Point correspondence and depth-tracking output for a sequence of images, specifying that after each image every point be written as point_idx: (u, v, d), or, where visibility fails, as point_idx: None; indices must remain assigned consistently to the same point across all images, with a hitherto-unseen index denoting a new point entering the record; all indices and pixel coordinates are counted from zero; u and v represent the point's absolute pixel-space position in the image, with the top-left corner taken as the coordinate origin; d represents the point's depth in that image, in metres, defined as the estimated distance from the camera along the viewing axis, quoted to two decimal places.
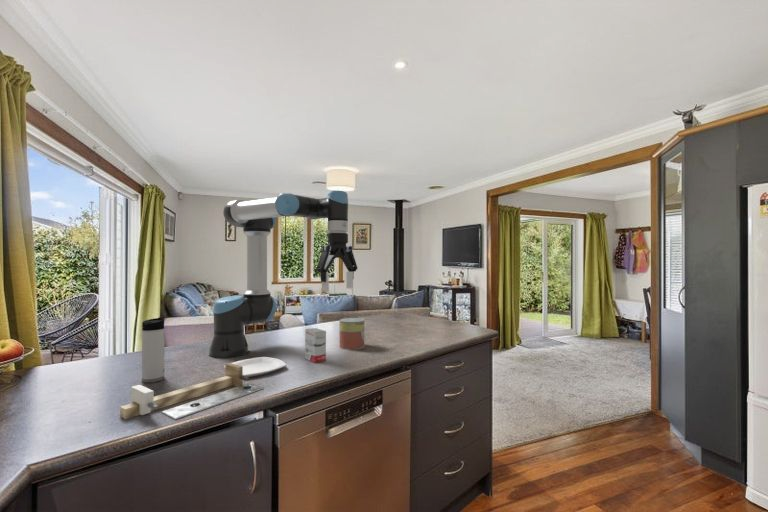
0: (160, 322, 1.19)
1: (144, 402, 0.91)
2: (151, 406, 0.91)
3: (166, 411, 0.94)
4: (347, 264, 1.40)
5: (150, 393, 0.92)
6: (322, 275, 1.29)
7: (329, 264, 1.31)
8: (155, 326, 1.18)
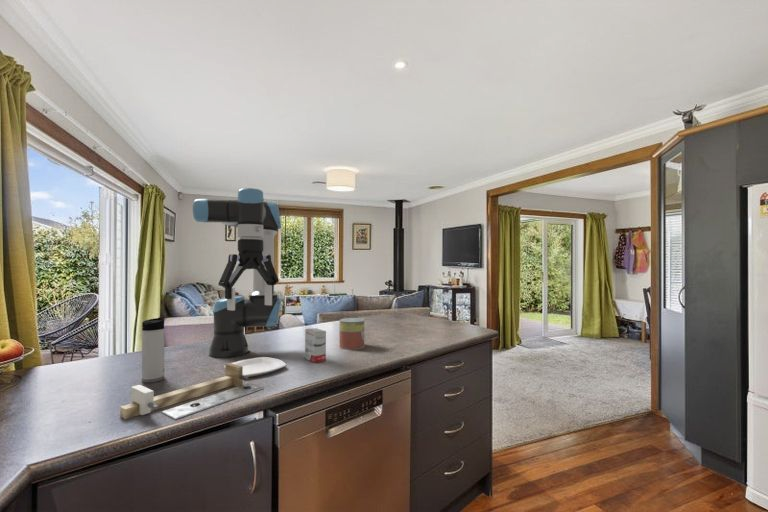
0: (160, 322, 1.19)
1: (144, 402, 0.91)
2: (151, 406, 0.91)
3: (166, 411, 0.94)
4: (264, 276, 1.17)
5: (150, 393, 0.92)
6: (226, 291, 1.06)
7: (236, 277, 1.08)
8: (155, 326, 1.18)
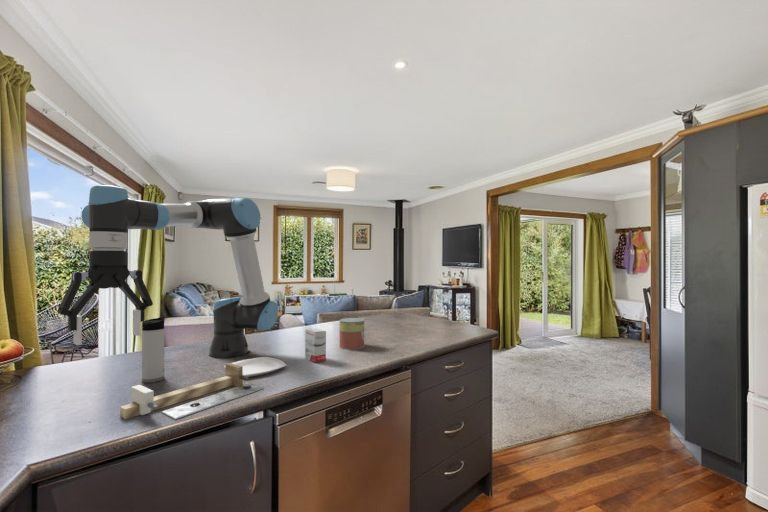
0: (160, 322, 1.19)
1: (144, 402, 0.91)
2: (151, 406, 0.91)
3: (166, 411, 0.94)
4: (130, 298, 0.93)
5: (150, 393, 0.92)
6: (69, 320, 0.83)
7: (83, 302, 0.84)
8: (155, 326, 1.18)
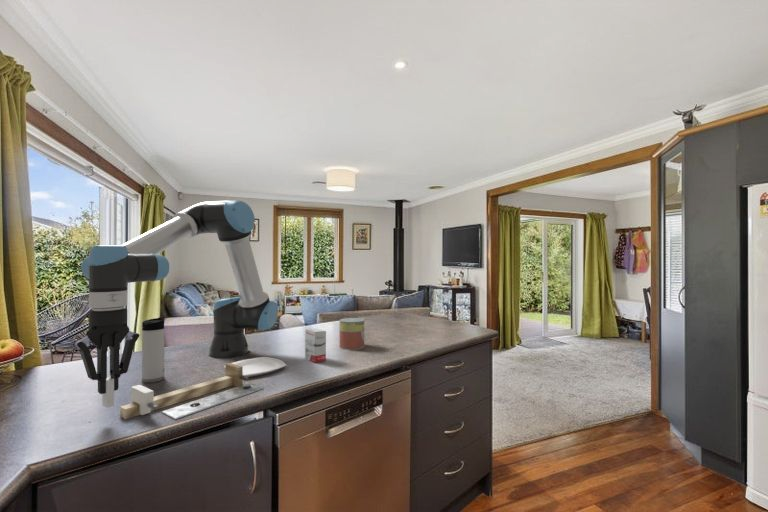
0: (160, 322, 1.19)
1: (144, 402, 0.91)
2: (151, 406, 0.91)
3: (166, 411, 0.94)
4: (112, 361, 0.90)
5: (150, 393, 0.92)
6: (99, 384, 0.87)
7: (103, 365, 0.87)
8: (155, 326, 1.18)
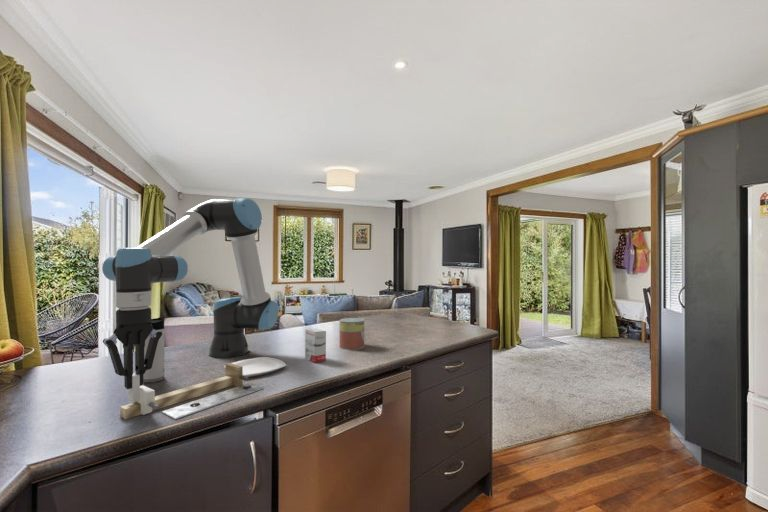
0: (160, 322, 1.19)
1: (145, 402, 0.92)
2: (152, 406, 0.91)
3: (166, 411, 0.94)
4: (137, 358, 0.94)
5: (151, 393, 0.93)
6: (125, 379, 0.92)
7: (130, 362, 0.92)
8: (155, 326, 1.18)
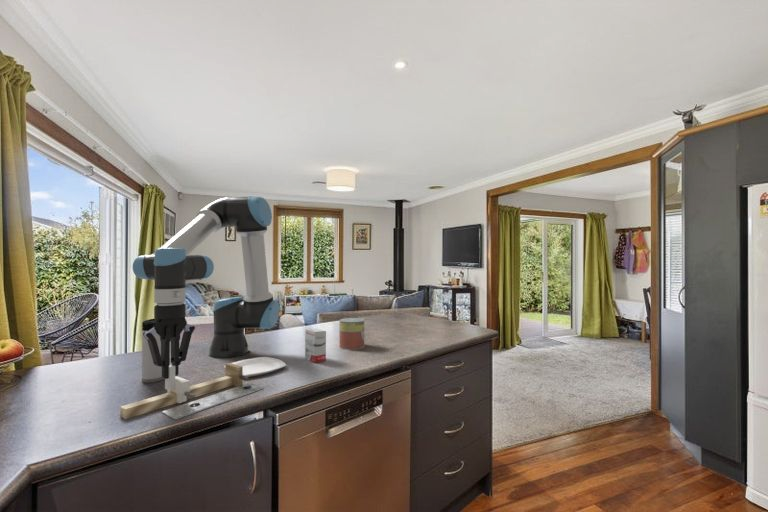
0: None
1: (181, 391, 0.99)
2: (188, 395, 0.98)
3: (166, 411, 0.94)
4: (173, 350, 1.01)
5: (186, 383, 1.00)
6: (163, 370, 0.99)
7: (167, 353, 0.99)
8: None
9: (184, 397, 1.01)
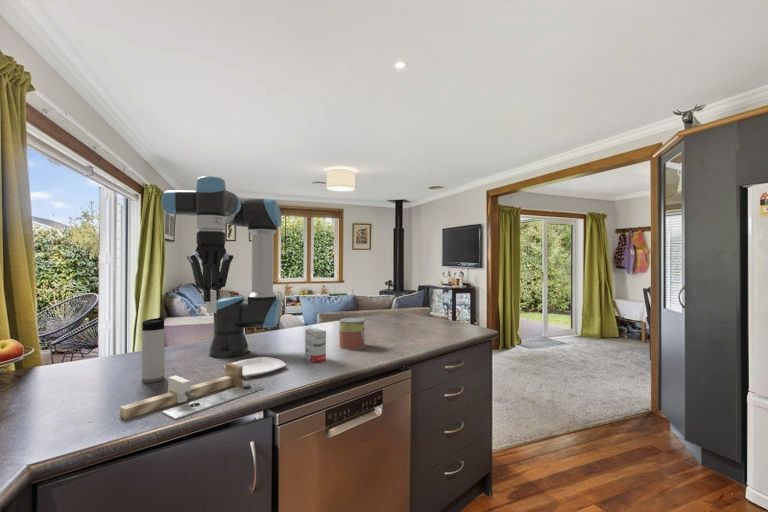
0: (160, 322, 1.19)
1: (182, 391, 0.99)
2: (188, 394, 0.98)
3: (166, 411, 0.94)
4: (214, 276, 1.06)
5: (187, 383, 1.00)
6: (205, 293, 1.04)
7: (208, 277, 1.04)
8: (155, 326, 1.18)
9: (184, 397, 1.01)
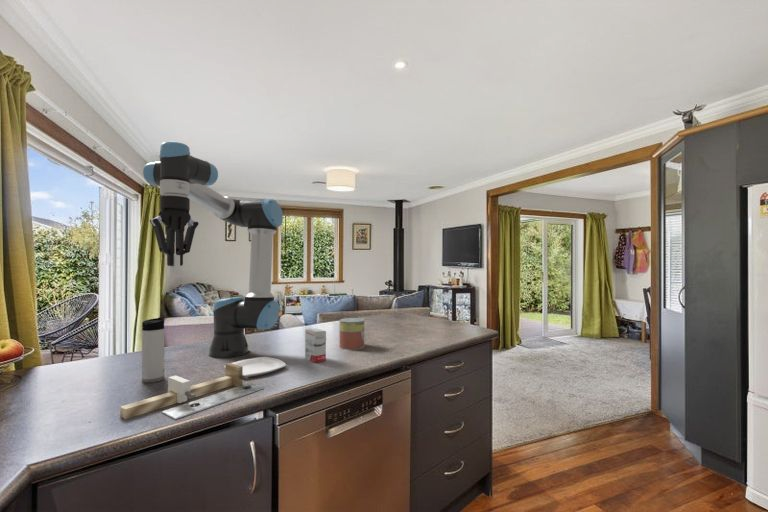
0: (160, 322, 1.19)
1: (182, 391, 0.99)
2: (188, 394, 0.98)
3: (166, 411, 0.94)
4: (178, 241, 1.07)
5: (187, 383, 1.00)
6: (168, 257, 1.05)
7: (172, 242, 1.05)
8: (155, 326, 1.18)
9: (184, 397, 1.01)
